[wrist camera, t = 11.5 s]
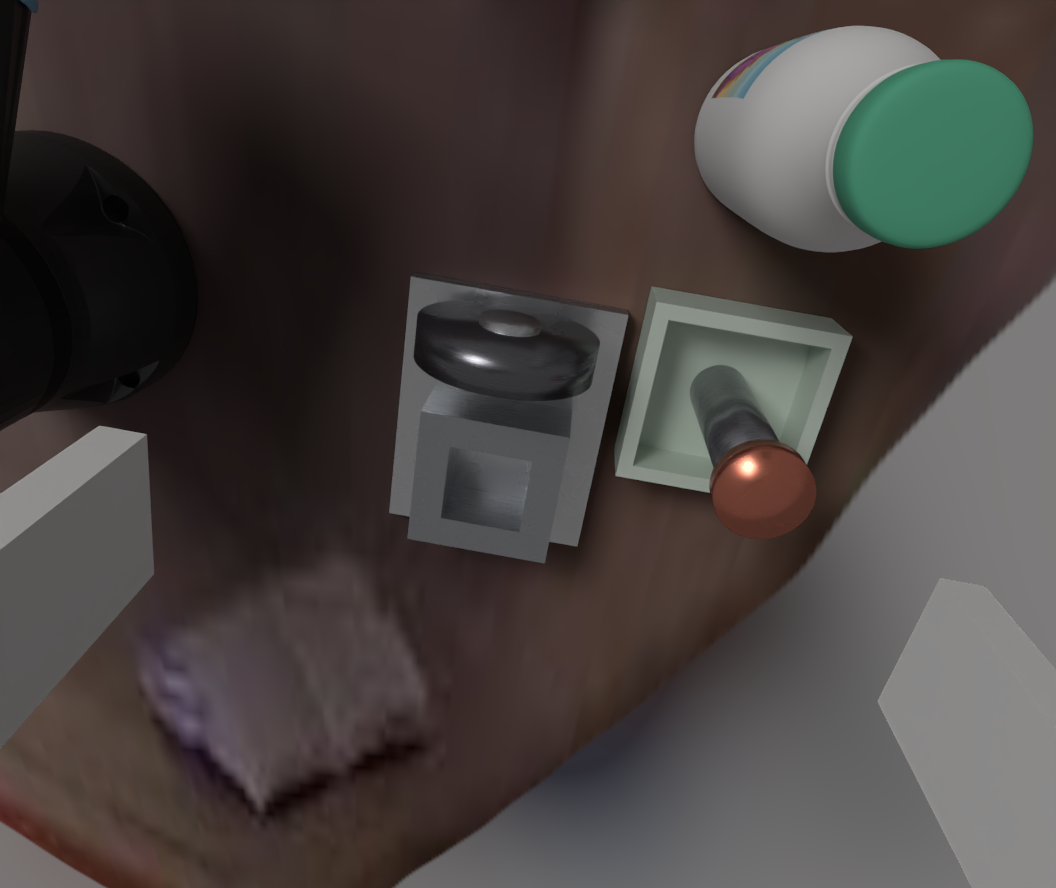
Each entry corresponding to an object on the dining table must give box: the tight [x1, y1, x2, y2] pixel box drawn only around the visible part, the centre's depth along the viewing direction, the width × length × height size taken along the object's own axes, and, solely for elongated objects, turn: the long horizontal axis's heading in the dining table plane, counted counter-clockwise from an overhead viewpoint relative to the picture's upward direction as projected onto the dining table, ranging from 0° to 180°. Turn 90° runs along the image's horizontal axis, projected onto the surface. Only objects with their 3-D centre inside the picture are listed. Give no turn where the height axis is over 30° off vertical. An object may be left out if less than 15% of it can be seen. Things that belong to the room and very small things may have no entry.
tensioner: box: [389, 272, 629, 563], centre depth 40 cm, size 12×15×10 cm
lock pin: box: [690, 365, 816, 539], centre depth 36 cm, size 4×4×12 cm
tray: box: [614, 286, 853, 493], centre depth 41 cm, size 10×10×4 cm
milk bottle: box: [694, 26, 1033, 252], centre depth 28 cm, size 8×8×20 cm
